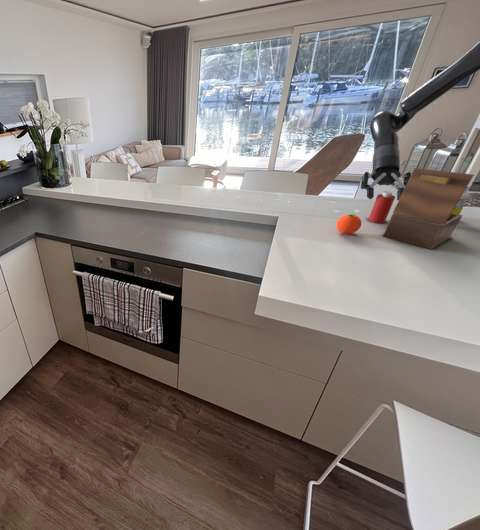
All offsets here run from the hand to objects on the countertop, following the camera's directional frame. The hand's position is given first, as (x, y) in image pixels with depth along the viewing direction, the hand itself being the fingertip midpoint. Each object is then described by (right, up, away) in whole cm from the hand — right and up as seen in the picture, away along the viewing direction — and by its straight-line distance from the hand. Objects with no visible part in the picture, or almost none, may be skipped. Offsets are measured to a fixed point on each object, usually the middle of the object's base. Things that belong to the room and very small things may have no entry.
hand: (385, 198), depth 105 cm
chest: (+2, -15, -9) cm, 17 cm away
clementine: (-16, -13, -2) cm, 21 cm away
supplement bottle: (+23, -7, +1) cm, 24 cm away
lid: (-3, -3, -18) cm, 19 cm away
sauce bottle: (+1, -7, +4) cm, 9 cm away
